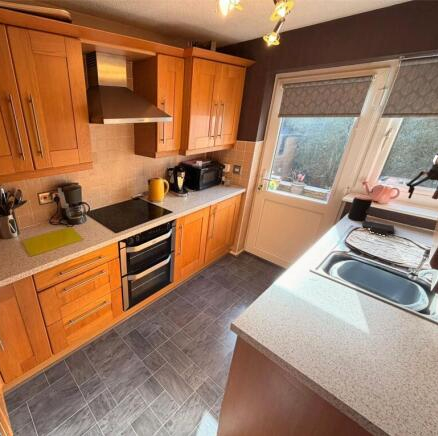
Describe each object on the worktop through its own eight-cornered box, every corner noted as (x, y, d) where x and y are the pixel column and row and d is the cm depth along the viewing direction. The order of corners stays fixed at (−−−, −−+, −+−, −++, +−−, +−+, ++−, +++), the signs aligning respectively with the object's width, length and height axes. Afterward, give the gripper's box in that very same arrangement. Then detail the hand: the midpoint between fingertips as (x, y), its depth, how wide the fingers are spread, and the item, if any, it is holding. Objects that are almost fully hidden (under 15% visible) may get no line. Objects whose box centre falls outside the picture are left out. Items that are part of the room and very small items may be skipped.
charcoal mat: (393, 234, 153) (394, 231, 153) (362, 228, 163) (362, 225, 163) (392, 228, 163) (393, 225, 162) (362, 222, 173) (363, 220, 172)
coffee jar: (366, 222, 173) (374, 199, 166) (348, 220, 178) (355, 197, 172) (363, 218, 181) (371, 196, 175) (346, 215, 187) (353, 194, 180)
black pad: (385, 236, 150) (388, 229, 149) (369, 233, 155) (371, 226, 154) (385, 231, 158) (387, 224, 156) (369, 228, 163) (371, 221, 161)
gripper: (477, 164, 122) (458, 202, 130) (409, 161, 138) (395, 195, 146) (481, 166, 117) (461, 206, 125) (410, 162, 133) (396, 197, 140)
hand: (426, 200), depth 135 cm, fingers open, 13 cm apart
